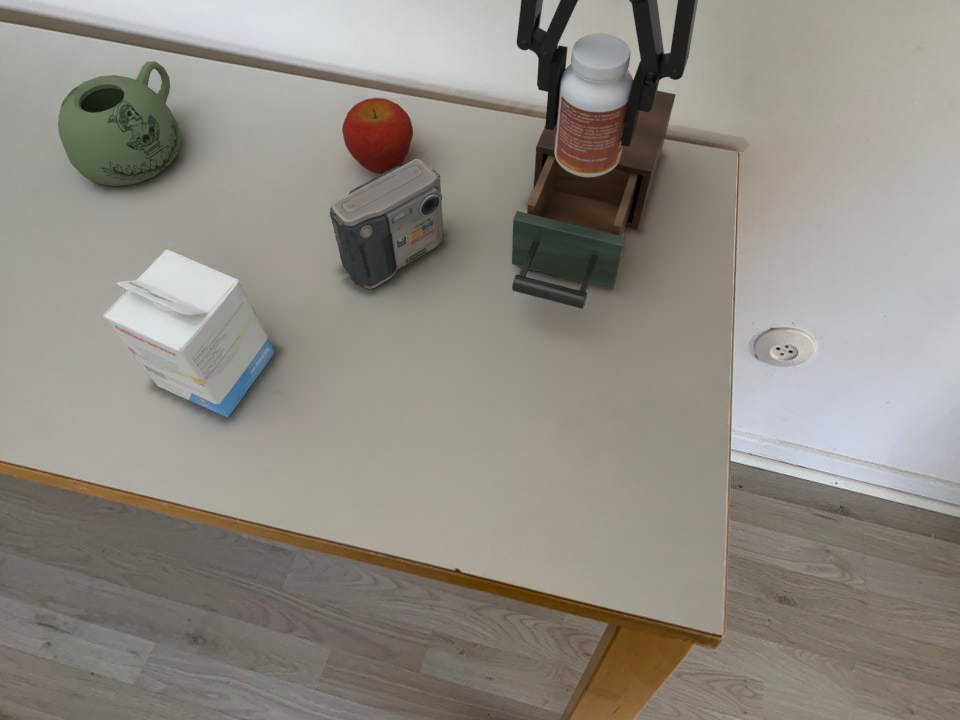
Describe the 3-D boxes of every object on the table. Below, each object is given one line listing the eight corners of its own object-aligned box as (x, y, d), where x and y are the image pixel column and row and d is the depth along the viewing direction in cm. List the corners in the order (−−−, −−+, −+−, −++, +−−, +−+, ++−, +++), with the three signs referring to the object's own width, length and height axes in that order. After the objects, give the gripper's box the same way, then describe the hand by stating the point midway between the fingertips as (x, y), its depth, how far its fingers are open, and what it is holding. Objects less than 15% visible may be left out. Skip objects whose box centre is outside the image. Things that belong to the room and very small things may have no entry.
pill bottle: (628, 174, 67) (651, 68, 57) (563, 185, 66) (575, 79, 57) (608, 129, 70) (626, 22, 61) (546, 139, 69) (554, 32, 60)
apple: (421, 178, 85) (415, 124, 79) (354, 190, 84) (342, 136, 78) (409, 134, 89) (403, 79, 83) (345, 145, 89) (334, 90, 82)
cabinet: (637, 230, 80) (651, 171, 73) (532, 205, 83) (536, 145, 76) (660, 155, 87) (675, 94, 80) (562, 133, 89) (568, 72, 82)
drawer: (597, 338, 72) (606, 295, 66) (492, 310, 74) (492, 266, 68) (637, 211, 81) (648, 164, 75) (542, 189, 83) (546, 142, 77)
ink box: (277, 352, 73) (238, 265, 61) (226, 420, 69) (174, 340, 57) (208, 322, 75) (156, 232, 63) (154, 386, 71) (89, 302, 59)
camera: (363, 297, 76) (347, 231, 68) (336, 263, 79) (317, 195, 70) (453, 247, 80) (449, 178, 71) (424, 216, 82) (416, 146, 74)
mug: (140, 207, 83) (106, 148, 76) (53, 175, 87) (13, 115, 79) (223, 122, 91) (200, 60, 84) (141, 95, 94) (111, 33, 87)
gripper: (796, -176, 46) (705, 123, 65) (505, -213, 49) (501, 81, 69) (781, -119, 42) (690, 180, 62) (467, -164, 46) (475, 132, 65)
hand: (590, 127), depth 65 cm, fingers closed on pill bottle, 6 cm apart
